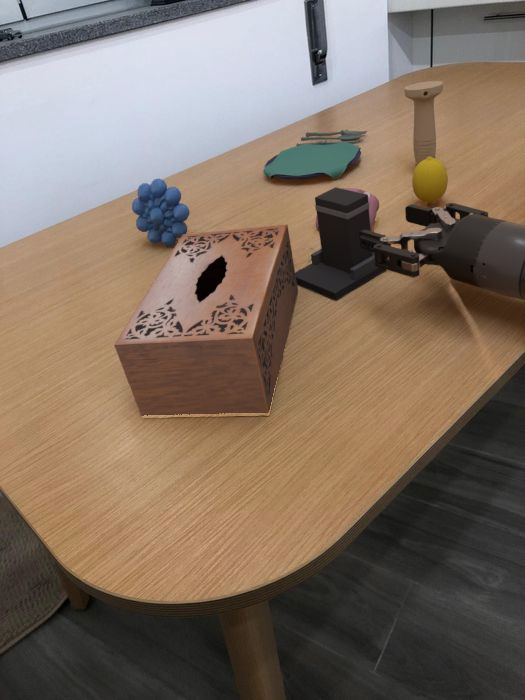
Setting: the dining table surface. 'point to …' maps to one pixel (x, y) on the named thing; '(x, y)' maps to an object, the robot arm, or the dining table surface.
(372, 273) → the base pad
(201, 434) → the dining table surface
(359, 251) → the upright box
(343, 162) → the cutlery set
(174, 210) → the grapes
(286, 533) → the dining table surface
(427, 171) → the lemon
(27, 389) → the dining table surface
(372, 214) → the video game controller
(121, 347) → the tissue box cover
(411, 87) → the handle
